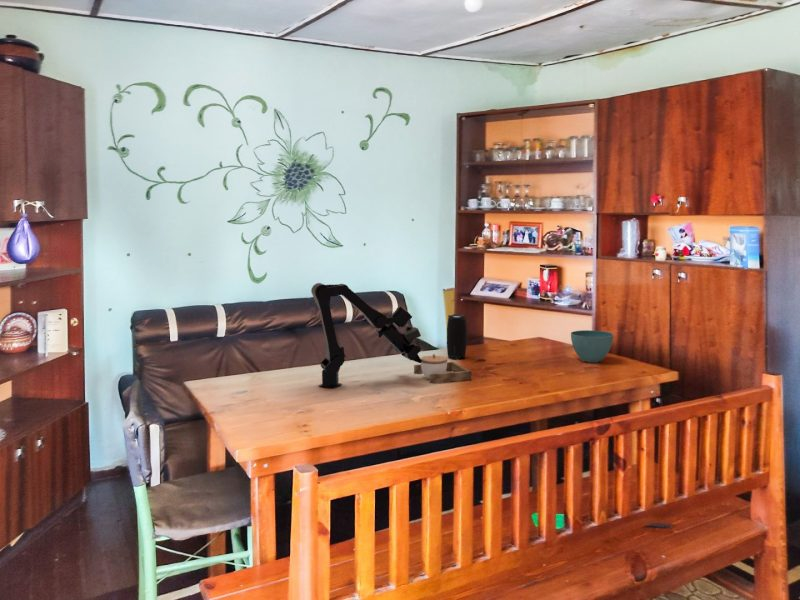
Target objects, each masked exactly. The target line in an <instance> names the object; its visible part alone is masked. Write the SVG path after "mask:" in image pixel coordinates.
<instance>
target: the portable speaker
mask: <svg viewBox="0 0 800 600" xmlns="http://www.w3.org/2000/svg"><path fill="white" fill-rule="evenodd" d="M466 319H467V317H466V315H464V314H460V313H454V314H451V315H450V314H448V318H447V326H446V353H447V356H448V358H450V359H451V360H455V361H456V359H459V360H460V358H463V359H466V353H467V343H468V341H467V340H468V339H467V336H468V334H467V333H468V331H467V330H468V329H467V328H468V327H467V320H466Z"/></svg>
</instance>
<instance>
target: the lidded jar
mask: <svg viewBox="0 0 800 600" xmlns="http://www.w3.org/2000/svg"><path fill="white" fill-rule="evenodd" d="M420 359H421V361H422V362H421V363H420V365H421V370H422V372H423V373H422V374H423V375H424V376H425V378H426V379H428V378H429V380H430V374H437V373H447V371H446V369H447V362H448V358H447V357H445V356H441V355H436V354H435V353H433V354H432V355H426V356H422V357H420Z"/></svg>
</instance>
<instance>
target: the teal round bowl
mask: <svg viewBox="0 0 800 600" xmlns="http://www.w3.org/2000/svg"><path fill="white" fill-rule="evenodd" d="M570 340H571V344H572V348H573V350H574V352H575V353H576V355H577V356H578V358H579V359H580V360H581V361H582V362H584V361H587V362H586V363H600V362H599V361H601V362H602V361H603V360H604V359H605V357H606V356H607V355H608V354H609V352H610V350H611V347H612V344H613V341H614V333H612V332H608V331H602V330H591V329H590V330H586V329H585V330H583V329H582V330H575V331H572V332H570Z"/></svg>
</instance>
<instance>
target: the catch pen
mask: <svg viewBox="0 0 800 600" xmlns="http://www.w3.org/2000/svg"><path fill="white" fill-rule="evenodd" d="M452 371H453V372H452ZM414 373H415V375H418V374H419V373H421V374H423V372H422V370H421V364H413V374H414ZM462 380H468V381H472V370H469V369H467V368H465V367H463V366H462V365H459V364H458V363H456V362H454V361H449V362H448V361H447V369H446V372H445V373H437V374H430V379H429V384H430V383H433V384H442V383H441V382H444V383H452V382H451V381H456V382H463V381H462Z"/></svg>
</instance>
